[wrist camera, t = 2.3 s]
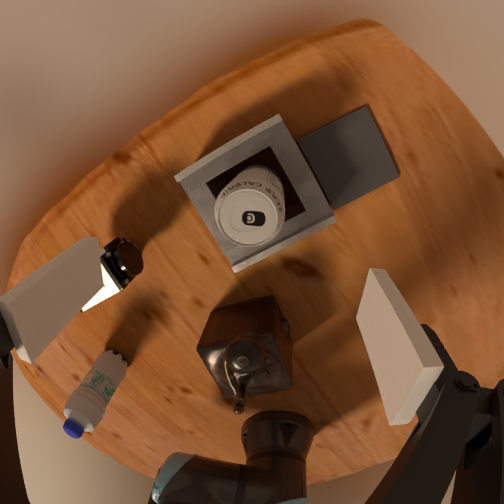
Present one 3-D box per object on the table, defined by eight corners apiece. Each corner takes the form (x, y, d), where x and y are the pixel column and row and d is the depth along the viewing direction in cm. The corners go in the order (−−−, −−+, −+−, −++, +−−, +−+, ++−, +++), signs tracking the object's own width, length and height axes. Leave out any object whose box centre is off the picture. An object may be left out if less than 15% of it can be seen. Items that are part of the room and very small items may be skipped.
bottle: (109, 340, 50) (57, 416, 32) (136, 363, 51) (93, 443, 33) (96, 355, 52) (48, 426, 34) (122, 376, 54) (81, 450, 35)
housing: (241, 252, 41) (234, 273, 35) (190, 169, 38) (173, 176, 31) (328, 207, 38) (337, 221, 32) (278, 117, 34) (278, 113, 28)
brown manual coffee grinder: (297, 346, 46) (301, 438, 30) (233, 360, 49) (215, 448, 32) (267, 261, 42) (258, 345, 25) (195, 282, 44) (151, 364, 27)
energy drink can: (236, 162, 37) (211, 178, 23) (285, 165, 36) (289, 184, 23) (234, 208, 39) (209, 250, 25) (280, 212, 39) (281, 257, 25)
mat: (333, 209, 38) (333, 210, 37) (296, 140, 35) (296, 140, 35) (397, 176, 35) (399, 176, 35) (364, 106, 33) (366, 106, 32)
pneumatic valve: (163, 249, 42) (127, 289, 31) (110, 280, 45) (71, 320, 34) (143, 217, 41) (99, 247, 29) (92, 252, 43) (47, 286, 32)
